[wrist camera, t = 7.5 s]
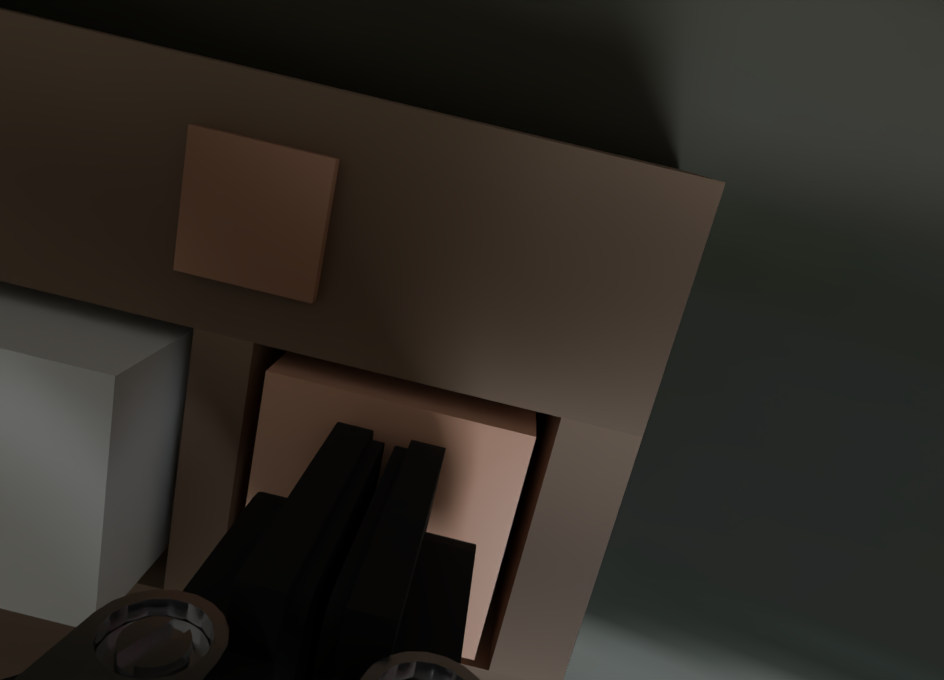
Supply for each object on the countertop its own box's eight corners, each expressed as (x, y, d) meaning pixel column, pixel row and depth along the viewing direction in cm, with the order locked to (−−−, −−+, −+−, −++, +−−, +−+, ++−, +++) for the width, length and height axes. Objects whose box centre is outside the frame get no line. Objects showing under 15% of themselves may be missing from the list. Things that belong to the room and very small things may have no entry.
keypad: (-339, -74, 12) (-623, -139, 9) (680, 169, 12) (729, 183, 9) (-280, 522, 16) (-473, 616, 13) (511, 719, 16) (506, 863, 13)
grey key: (-21, 261, 12) (-188, 302, 9) (212, 318, 12) (115, 376, 9) (-26, 472, 13) (-174, 565, 10) (187, 524, 13) (94, 631, 10)
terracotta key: (322, 319, 13) (265, 371, 10) (535, 371, 13) (536, 436, 10) (289, 508, 14) (231, 599, 12) (485, 556, 14) (473, 660, 11)
